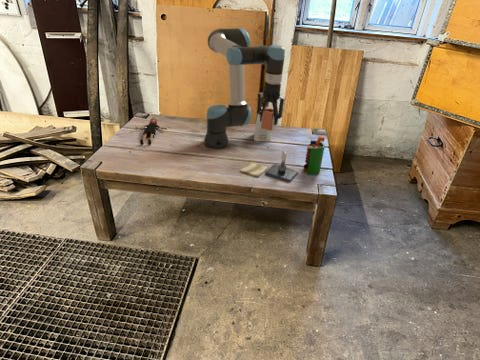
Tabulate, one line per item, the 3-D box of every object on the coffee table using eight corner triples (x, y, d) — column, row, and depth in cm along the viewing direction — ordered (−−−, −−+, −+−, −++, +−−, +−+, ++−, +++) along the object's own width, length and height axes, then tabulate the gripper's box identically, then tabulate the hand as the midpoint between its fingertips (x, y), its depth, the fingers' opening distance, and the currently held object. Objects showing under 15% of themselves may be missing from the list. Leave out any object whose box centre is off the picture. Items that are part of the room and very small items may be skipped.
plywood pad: (240, 171, 170) (240, 169, 170) (249, 163, 178) (250, 161, 178) (258, 177, 166) (258, 175, 165) (267, 168, 174) (267, 167, 173)
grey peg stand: (265, 174, 169) (267, 153, 162) (274, 166, 177) (276, 145, 171) (289, 182, 163) (293, 160, 157) (297, 173, 171) (301, 152, 165)
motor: (301, 165, 179) (306, 132, 168) (316, 165, 180) (323, 132, 169) (305, 175, 170) (312, 140, 160) (322, 175, 171) (329, 140, 161)
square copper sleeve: (261, 128, 158) (263, 110, 153) (265, 125, 162) (267, 107, 157) (270, 130, 156) (272, 113, 151) (274, 127, 160) (276, 110, 155)
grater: (270, 141, 205) (273, 111, 195) (254, 140, 205) (256, 110, 195) (269, 135, 214) (272, 106, 204) (253, 134, 214) (256, 105, 204)
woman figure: (127, 139, 188) (138, 116, 217) (128, 148, 191) (139, 123, 220) (162, 139, 190) (168, 116, 219) (163, 148, 193) (169, 124, 222)
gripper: (251, 80, 148) (248, 127, 160) (288, 87, 141) (281, 136, 153) (258, 77, 153) (254, 122, 166) (294, 84, 146) (287, 131, 159)
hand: (267, 129), depth 159 cm, fingers closed on square copper sleeve, 5 cm apart
